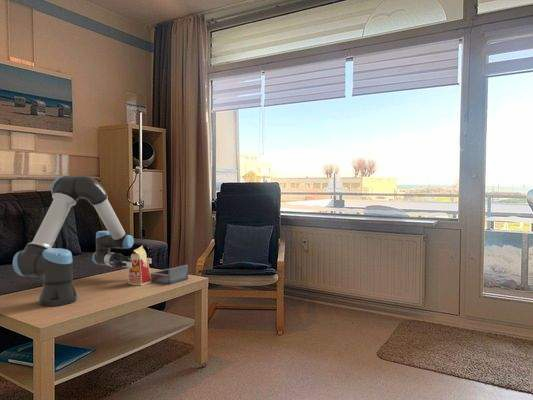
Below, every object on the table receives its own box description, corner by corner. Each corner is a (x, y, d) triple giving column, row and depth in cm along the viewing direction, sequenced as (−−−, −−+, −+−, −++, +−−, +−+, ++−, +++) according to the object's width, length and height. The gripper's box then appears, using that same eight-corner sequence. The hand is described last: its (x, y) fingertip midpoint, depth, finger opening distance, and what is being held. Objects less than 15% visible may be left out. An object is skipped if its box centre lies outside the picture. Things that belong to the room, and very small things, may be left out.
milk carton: (139, 280, 219) (138, 244, 219) (152, 282, 215) (151, 245, 215) (126, 284, 211) (126, 246, 211) (139, 285, 207) (139, 247, 207)
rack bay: (170, 284, 210) (170, 269, 210) (150, 281, 218) (149, 266, 218) (188, 279, 222) (188, 265, 222) (168, 276, 230) (168, 262, 230)
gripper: (132, 262, 234) (158, 266, 224) (95, 270, 213) (122, 274, 202) (132, 250, 234) (158, 252, 224) (95, 256, 213) (122, 259, 202)
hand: (141, 263), depth 213 cm, fingers open, 13 cm apart
